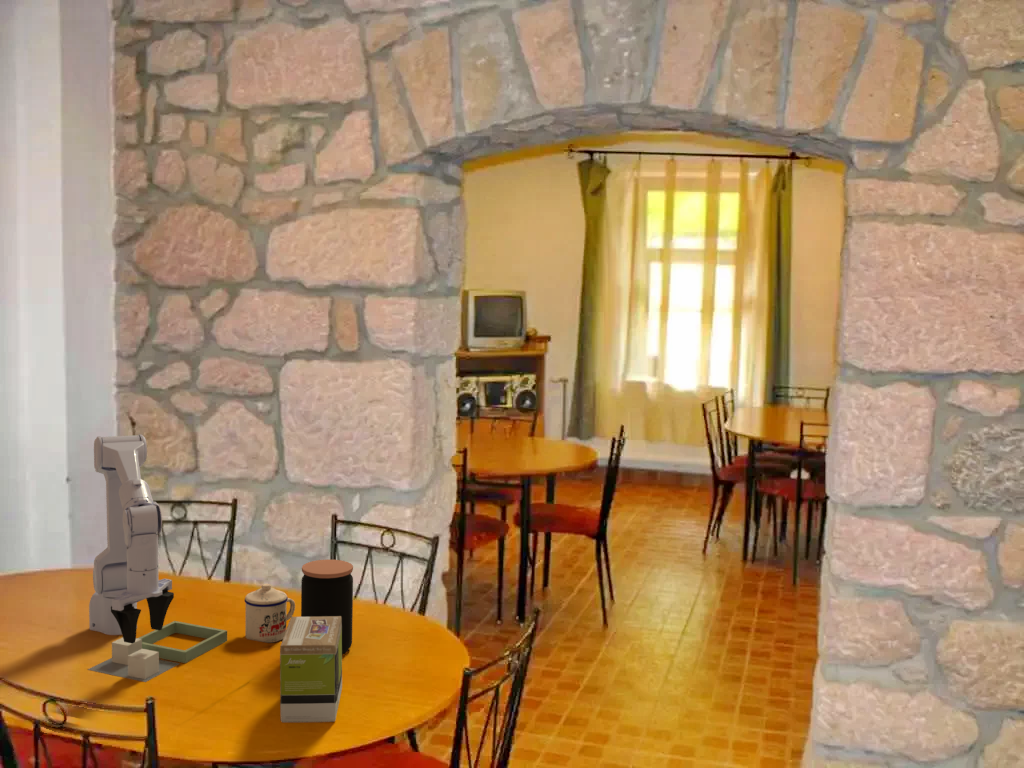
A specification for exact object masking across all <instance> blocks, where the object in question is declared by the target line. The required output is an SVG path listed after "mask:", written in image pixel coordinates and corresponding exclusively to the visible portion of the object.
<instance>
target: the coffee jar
mask: <svg viewBox="0 0 1024 768" xmlns="http://www.w3.org/2000/svg"><path fill="white" fill-rule="evenodd" d="M353 570H354V566H353V563H350V562H349V561H345V560H340V559H318V560H317V559H316V560H312V561H310V562H306V563H304V564H303V565H302V566H301V572H302V574H303V576H302V577H301V582H300V583H301V585H300V586H301V587H300V588H301V594H300V596H301V598H300V599H301V601H300V617H322V616H341V618H342V655H345V654H346V653H347V652H348V651H349V649H350V648H351V647H352V643H353V617H354V616H353V614H354V613H353V611H354V610H353V607H354V600H353V599H354V576H353V574H352V573H353Z"/></svg>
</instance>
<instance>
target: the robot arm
mask: <svg viewBox="0 0 1024 768" xmlns="http://www.w3.org/2000/svg"><path fill="white" fill-rule="evenodd" d="M147 458H148V446H147V439H146V437H145V436H144V435H143V434H137V435H117V436H116V435H115V436H97V437H96V438H95V439H94V442H93V464H94V469H95V471H94V472H96V473H98V474H103V476H104V479H105V484H106V485H105V489H106V491H105V494H106V495H105V496H106V497H105V499H106V535H107V536H106V538H107V539H106V541H107V543H106V544H107V547H106V548H105V549H104V550H102V551H101V552H100V553H98V554H97V555H96V556H95V558H94V560H93V569H92V583H93V590H94V593H93V594H92V595H91V597H90V600H89V605H88V611H89V615H88V618H89V619H88V620H89V626H88V627H89V630H90V631H95V632H98V633H101V634H105V635H108V636H122V638H123V639H124V642H127V643H134V642H135V640H136V638H137V630H138V621H139V617H140V614H141V612H142V609H140V608H138V607H137V606H138V602H141V601H143V600H146V601H147V607H148V611H149V625H150V629H151V630H153V631H154V630H162V627H163V626H164V623H165V620H166V615H167V613H168V610H169V607H170V605H171V603H172V601H173V599H174V598H175V594H174V592H172V590H173V580H172V579H169V578H162V579H159V535H161V533H162V527H163V517H162V511H161V507H160V504H159V503H157V501H154V499H153V496H152V493H151V488H150V486H149V483H147V481H146V480H144V479H142V476H141V475H142V474H141V470H140V469H141V468H142V466H143V465H144V464H145V462H146V461H147ZM170 590H171V591H170Z"/></svg>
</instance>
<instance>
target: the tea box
mask: <svg viewBox="0 0 1024 768" xmlns="http://www.w3.org/2000/svg"><path fill="white" fill-rule="evenodd" d="M288 621H289V622H288V625H287V626H286V633H285V635H284V638H283V639H282V641H281V644H280V648H279V667H280V669H279V674H280V675H279V680H280V682H279V683H280V685H279V686H280V693H279V694H280V695H279V696H280V697H279V699H280V700H279V701H280V703H279V704H280V722H281V723H331V722H335V721H336V719H337V713H338V711H339V710H338V709H339V704H340V701H341V700H340V699H341V694H342V690H343V654H342V618H341V616H322V617H301V616H293V615H292V617H291V618H290V619H289V620H288Z"/></svg>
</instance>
